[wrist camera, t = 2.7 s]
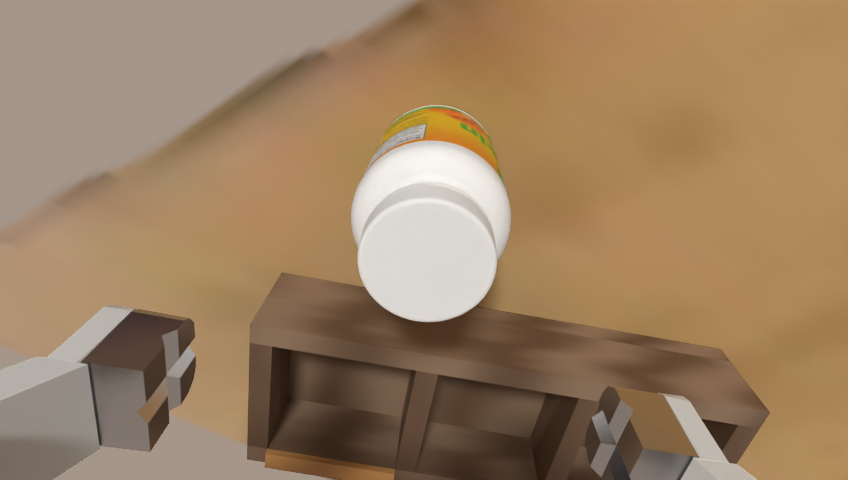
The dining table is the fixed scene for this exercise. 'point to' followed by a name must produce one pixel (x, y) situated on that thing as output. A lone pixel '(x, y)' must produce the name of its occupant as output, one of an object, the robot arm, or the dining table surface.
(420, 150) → the supplement bottle
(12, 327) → the dining table surface
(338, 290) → the box
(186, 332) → the robot arm
